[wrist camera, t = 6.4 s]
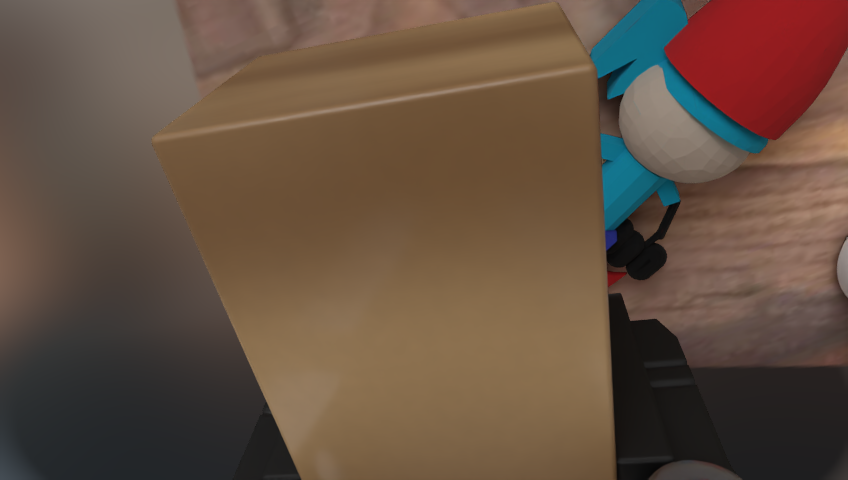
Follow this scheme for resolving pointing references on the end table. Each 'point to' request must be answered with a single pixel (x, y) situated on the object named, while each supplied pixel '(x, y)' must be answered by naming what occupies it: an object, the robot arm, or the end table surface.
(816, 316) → the end table surface
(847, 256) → the can
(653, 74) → the toy figure
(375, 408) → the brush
